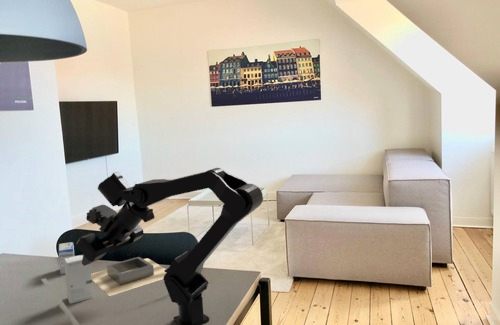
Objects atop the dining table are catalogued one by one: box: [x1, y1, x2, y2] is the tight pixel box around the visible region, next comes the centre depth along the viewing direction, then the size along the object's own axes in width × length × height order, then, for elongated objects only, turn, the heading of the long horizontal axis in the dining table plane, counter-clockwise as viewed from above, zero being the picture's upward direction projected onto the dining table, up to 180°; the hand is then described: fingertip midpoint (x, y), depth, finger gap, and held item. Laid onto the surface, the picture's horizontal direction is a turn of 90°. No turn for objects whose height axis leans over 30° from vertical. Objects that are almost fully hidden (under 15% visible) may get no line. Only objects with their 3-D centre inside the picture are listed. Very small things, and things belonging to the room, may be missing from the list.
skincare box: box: [64, 254, 94, 304], centre depth 107 cm, size 6×4×12 cm
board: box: [91, 258, 167, 297], centre depth 122 cm, size 20×20×1 cm
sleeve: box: [106, 256, 154, 285], centre depth 122 cm, size 10×10×3 cm
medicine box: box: [58, 241, 75, 275], centre depth 129 cm, size 8×4×9 cm, turn 25°
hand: (96, 257), depth 104 cm, fingers open, 9 cm apart
